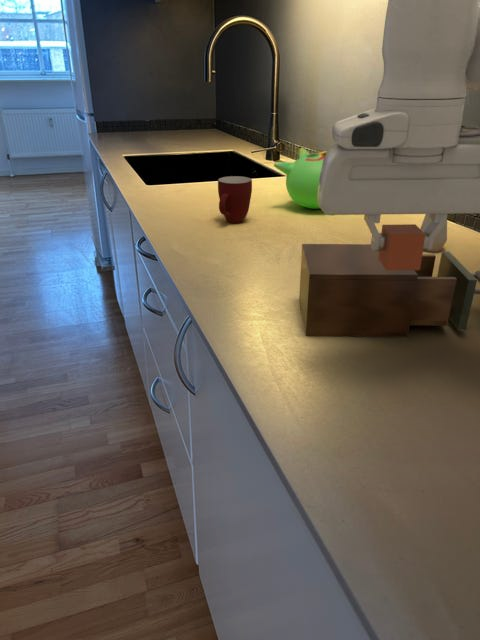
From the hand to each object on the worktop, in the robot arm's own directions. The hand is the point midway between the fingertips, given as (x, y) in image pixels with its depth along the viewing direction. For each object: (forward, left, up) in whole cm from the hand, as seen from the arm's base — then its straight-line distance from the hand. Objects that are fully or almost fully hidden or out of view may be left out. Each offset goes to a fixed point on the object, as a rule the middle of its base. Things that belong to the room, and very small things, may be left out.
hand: (400, 249), depth 61 cm
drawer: (-9, -12, -14) cm, 21 cm away
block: (0, 0, -2) cm, 2 cm away
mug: (+23, -62, -16) cm, 68 cm away
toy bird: (+2, -77, -16) cm, 79 cm away
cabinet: (+3, -12, -15) cm, 20 cm away
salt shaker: (-19, -44, -16) cm, 51 cm away
